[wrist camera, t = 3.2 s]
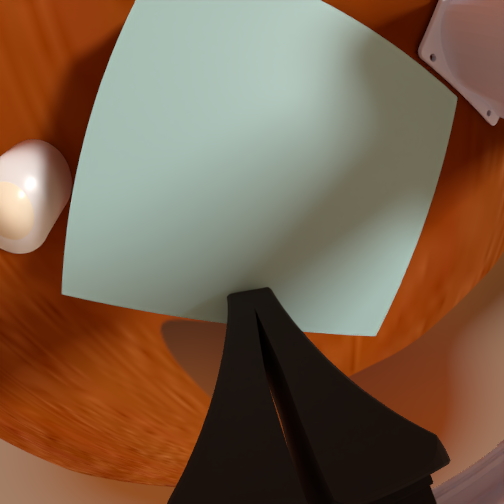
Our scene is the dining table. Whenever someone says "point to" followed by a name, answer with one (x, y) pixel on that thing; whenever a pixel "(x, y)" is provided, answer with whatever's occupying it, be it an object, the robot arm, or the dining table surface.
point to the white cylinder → (31, 194)
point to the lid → (255, 164)
